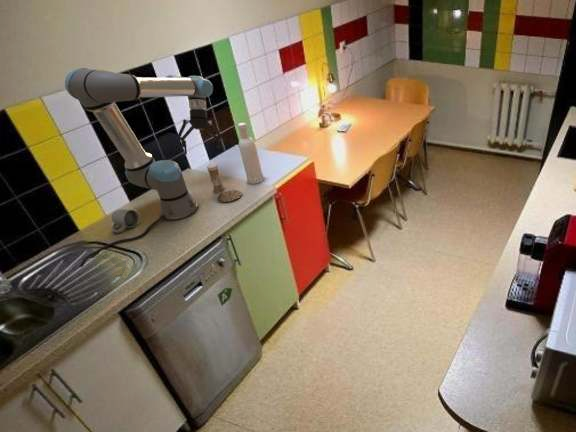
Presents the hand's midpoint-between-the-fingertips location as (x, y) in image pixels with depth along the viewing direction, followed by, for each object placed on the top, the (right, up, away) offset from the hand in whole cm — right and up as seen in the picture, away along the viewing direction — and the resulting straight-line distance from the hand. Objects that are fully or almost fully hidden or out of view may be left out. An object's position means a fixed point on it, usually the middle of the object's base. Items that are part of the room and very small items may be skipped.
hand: (201, 154), depth 203 cm
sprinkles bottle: (+8, -17, +3) cm, 19 cm away
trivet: (+16, -21, -4) cm, 27 cm away
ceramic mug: (-23, -35, -22) cm, 47 cm away
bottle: (+24, -12, +9) cm, 28 cm away
